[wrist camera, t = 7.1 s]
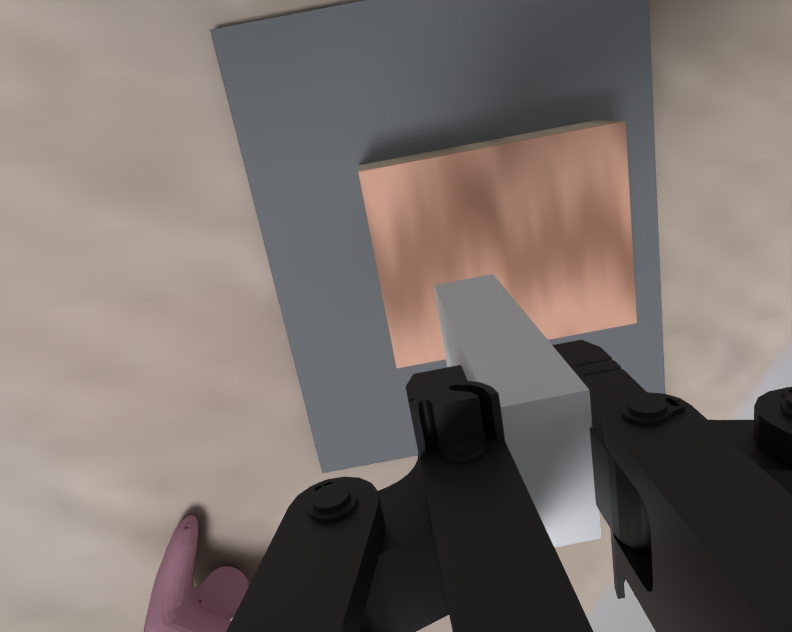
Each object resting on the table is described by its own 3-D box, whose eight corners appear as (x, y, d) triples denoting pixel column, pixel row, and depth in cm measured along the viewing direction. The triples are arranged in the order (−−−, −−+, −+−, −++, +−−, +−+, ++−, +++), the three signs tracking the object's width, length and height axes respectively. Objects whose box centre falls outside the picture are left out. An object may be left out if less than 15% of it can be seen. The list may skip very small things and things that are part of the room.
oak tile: (358, 171, 23) (625, 120, 23) (358, 165, 25) (595, 120, 25) (396, 368, 25) (637, 323, 25) (392, 342, 28) (608, 301, 28)
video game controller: (173, 543, 33) (120, 688, 28) (178, 504, 30) (120, 659, 25) (348, 581, 35) (328, 726, 30) (370, 548, 32) (352, 703, 27)
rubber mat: (213, 31, 24) (210, 29, 24) (639, -50, 24) (646, -54, 24) (323, 466, 30) (322, 473, 30) (660, 402, 30) (665, 408, 30)
